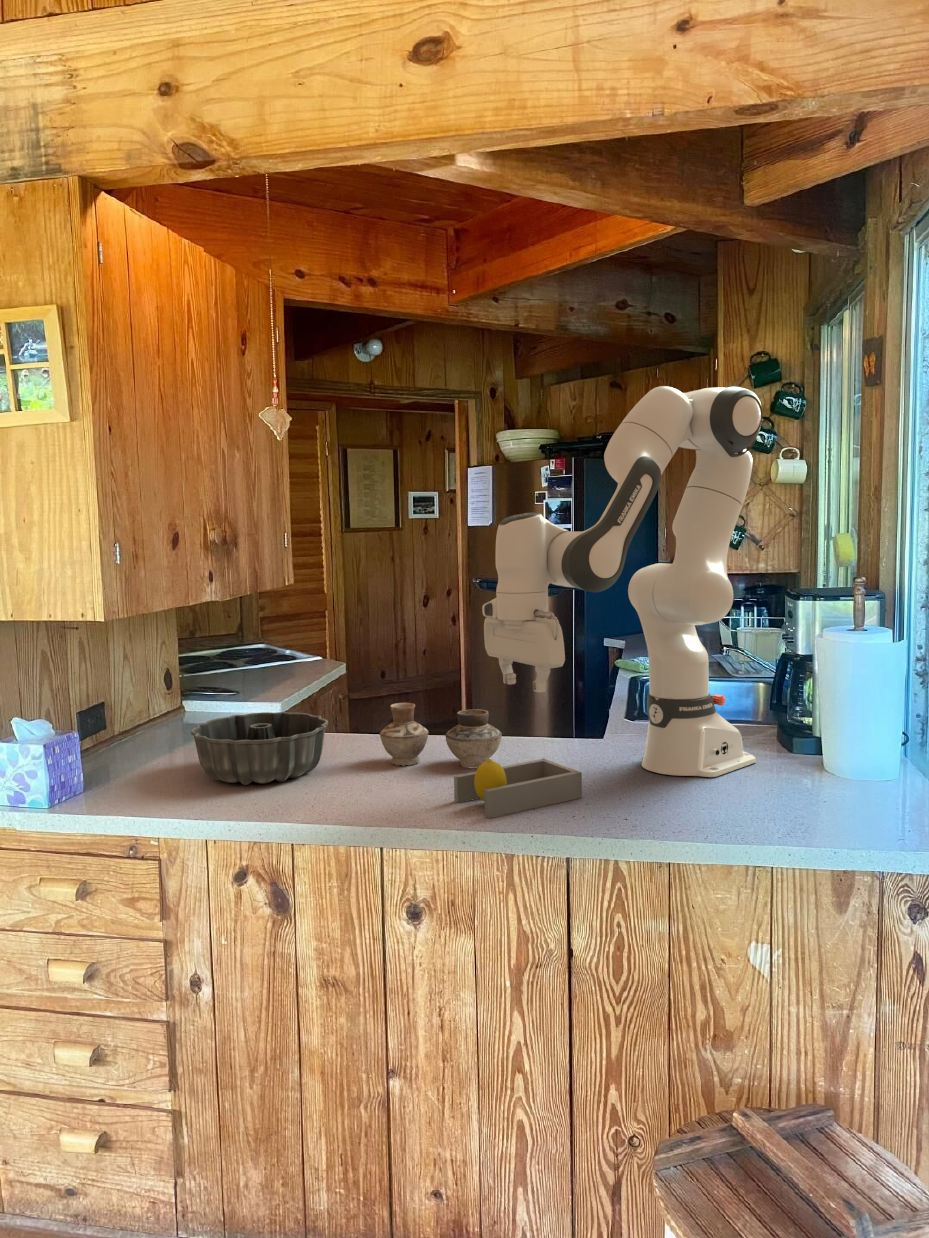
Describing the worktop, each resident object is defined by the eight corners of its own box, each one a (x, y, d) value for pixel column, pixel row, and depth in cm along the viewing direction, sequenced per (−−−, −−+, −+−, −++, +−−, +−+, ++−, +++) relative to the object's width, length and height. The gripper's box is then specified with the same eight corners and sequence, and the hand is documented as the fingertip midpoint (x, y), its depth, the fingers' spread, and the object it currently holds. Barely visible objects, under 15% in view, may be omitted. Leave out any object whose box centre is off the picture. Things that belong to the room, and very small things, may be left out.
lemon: (504, 810, 154) (503, 764, 153) (472, 809, 155) (470, 763, 154) (509, 800, 159) (508, 755, 158) (478, 799, 160) (476, 754, 159)
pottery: (389, 755, 193) (387, 699, 192) (506, 758, 188) (505, 700, 187) (373, 769, 182) (370, 710, 181) (497, 773, 177) (495, 712, 176)
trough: (544, 782, 169) (543, 758, 169) (581, 797, 160) (581, 772, 159) (454, 800, 160) (453, 775, 160) (488, 818, 150) (487, 791, 150)
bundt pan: (324, 751, 198) (322, 706, 197) (337, 785, 173) (334, 733, 171) (197, 763, 192) (194, 716, 191) (191, 799, 166) (187, 745, 165)
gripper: (573, 611, 150) (574, 694, 152) (506, 603, 168) (508, 677, 169) (541, 614, 147) (543, 699, 148) (477, 605, 165) (479, 681, 166)
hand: (524, 687), depth 159 cm, fingers open, 8 cm apart
